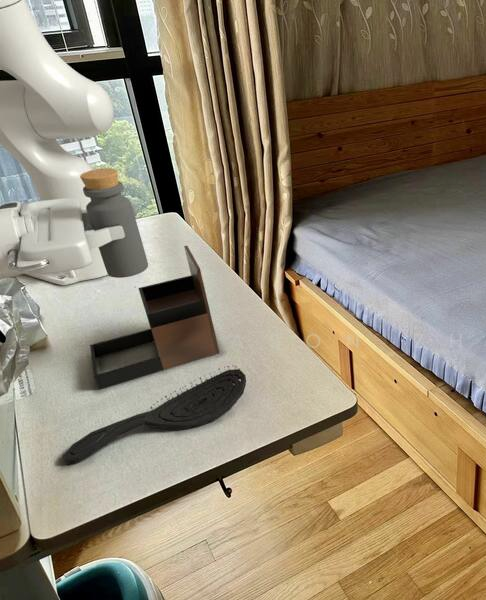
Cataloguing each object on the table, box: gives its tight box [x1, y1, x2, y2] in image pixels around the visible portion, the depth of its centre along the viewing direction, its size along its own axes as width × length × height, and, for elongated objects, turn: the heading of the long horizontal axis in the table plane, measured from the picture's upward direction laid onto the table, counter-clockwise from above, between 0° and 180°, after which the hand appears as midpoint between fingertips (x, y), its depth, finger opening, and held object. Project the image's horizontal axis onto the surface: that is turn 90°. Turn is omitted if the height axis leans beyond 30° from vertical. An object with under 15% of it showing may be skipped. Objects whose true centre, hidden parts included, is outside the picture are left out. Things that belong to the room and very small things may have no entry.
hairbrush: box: [62, 364, 247, 465], centre depth 76 cm, size 8×4×25 cm
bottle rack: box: [89, 245, 220, 391], centre depth 87 cm, size 18×10×16 cm, turn 120°
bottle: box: [80, 167, 149, 279], centre depth 79 cm, size 6×6×15 cm
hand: (120, 222), depth 80 cm, fingers closed on bottle, 6 cm apart
